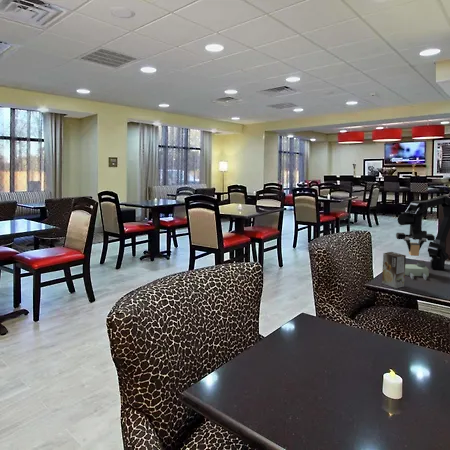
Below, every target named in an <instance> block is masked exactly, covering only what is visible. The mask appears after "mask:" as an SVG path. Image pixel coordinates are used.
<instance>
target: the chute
mask: <svg viewBox="0 0 450 450" xmlns="http://www.w3.org/2000/svg"><path fill="white" fill-rule="evenodd" d="M419 247H420V244H419V243H418V242H412V241H410V252H409V251H408V254H409V255H410V256H415V257H419V255H420V250H419Z"/></svg>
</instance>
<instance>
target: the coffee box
mask: <svg viewBox="0 0 450 450" xmlns="http://www.w3.org/2000/svg"><path fill="white" fill-rule="evenodd" d="M406 256H407V255H406V254H401V253H397V252H395V251H387V252H383V253H382V277H381V284H383V285H385V286H388V287H391V288H394V289H398V288H403V287H405V279H406V278H405V276H406V275H405V264H406V259H407V258H406Z"/></svg>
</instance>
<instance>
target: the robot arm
mask: <svg viewBox="0 0 450 450" xmlns="http://www.w3.org/2000/svg"><path fill="white" fill-rule="evenodd" d="M437 206H440V207H442V214H443V218H442V219H441V223H440V225H439V228H438V231H437V234H436V235H433V234H432V233H428V232H427V230H422V228H423V227H422V226H423V225H422V223H423V217H425V216H426V213H424V212H426V211H427V210H428V209H430V208H432V207H437ZM397 223H398V225H400V226H409V234H406V233H404V232H396V234H395V238H396V239H397V240H403V241H405V243H406V246H407V249H408V253H409V252H410V242H411V239H412V240H415V241H416V240H418V242H417V243H419V244H420V247H419V251H420V250H421V248H422V246H423V245H424V243H427V242H428V241H429V243H428V246H427V252H428V256H429V258H431V259H430V261H429V268H431V269H432V270H434V271H435V270H436V271H446V269H445V266H446V264H445V263H446V261H447V260H449V254H448V253H447V252H446V250H447V247H446V243H445V242H446V239H447V237H448V235H449V231H450V197H449V196H448V195H439V196H437V197H433V198H429V199H426V200H413V201H411V202H410V203H409V205H408V207H407V209H406V210H405V211H404V212H400V214H399V216H398V217H397ZM435 236H436V237H435Z"/></svg>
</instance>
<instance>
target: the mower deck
mask: <svg viewBox="0 0 450 450" xmlns="http://www.w3.org/2000/svg"><path fill="white" fill-rule="evenodd" d="M416 263H417V264H410V263H405V276H409V277H410V279H411V280H414V279H415V277H422V278H423V279H424V280H425V281H427V280H428V277H429V275H430V269H429V268H428V266H426V263H427V262H426V261H424V260H418V261H417V262H416Z"/></svg>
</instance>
